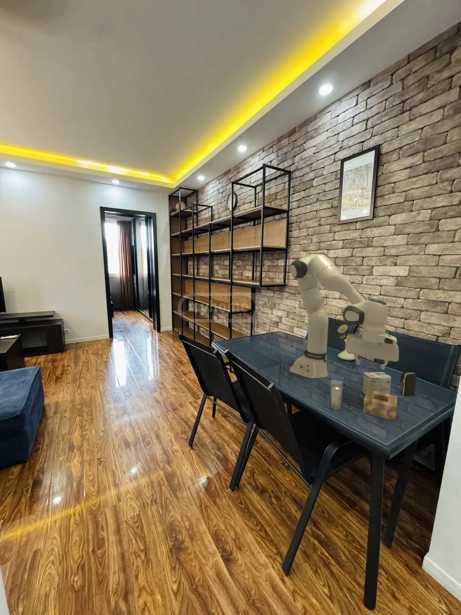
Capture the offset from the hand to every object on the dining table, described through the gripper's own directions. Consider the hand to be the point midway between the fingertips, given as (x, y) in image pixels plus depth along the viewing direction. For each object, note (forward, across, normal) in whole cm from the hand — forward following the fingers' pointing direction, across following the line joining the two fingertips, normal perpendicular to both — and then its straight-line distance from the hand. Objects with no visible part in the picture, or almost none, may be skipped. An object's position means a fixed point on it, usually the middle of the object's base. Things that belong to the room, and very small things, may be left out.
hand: (370, 366), depth 113 cm
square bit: (+20, -14, +4) cm, 25 cm away
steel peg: (+20, -12, -6) cm, 24 cm away
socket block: (+20, +6, +2) cm, 21 cm away
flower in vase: (+20, -19, +68) cm, 73 cm away
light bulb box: (+20, +3, +18) cm, 27 cm away
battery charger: (+20, +16, +28) cm, 38 cm away
